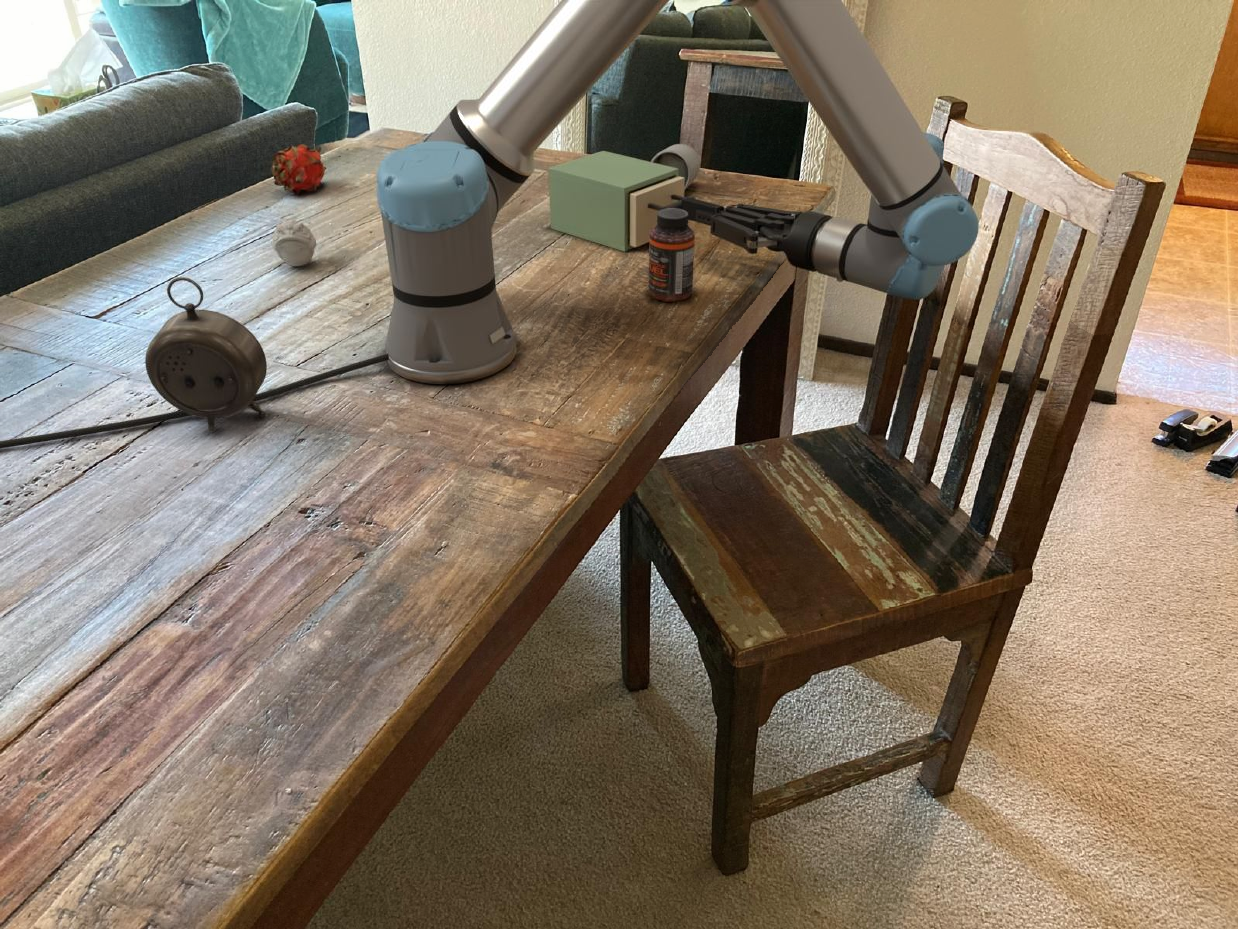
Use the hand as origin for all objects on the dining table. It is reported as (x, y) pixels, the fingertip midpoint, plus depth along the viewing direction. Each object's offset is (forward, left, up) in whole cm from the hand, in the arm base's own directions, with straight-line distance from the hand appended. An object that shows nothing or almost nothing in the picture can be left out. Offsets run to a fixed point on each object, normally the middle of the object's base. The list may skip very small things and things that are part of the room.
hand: (684, 207), depth 136 cm
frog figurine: (-47, +31, -7) cm, 57 cm away
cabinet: (-2, +14, -6) cm, 15 cm away
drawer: (-2, +10, -6) cm, 11 cm away
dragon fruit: (-32, +65, -7) cm, 73 cm away
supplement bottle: (-12, -11, -7) cm, 18 cm away
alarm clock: (-71, -6, -7) cm, 72 cm away
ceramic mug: (+18, +24, -7) cm, 30 cm away
